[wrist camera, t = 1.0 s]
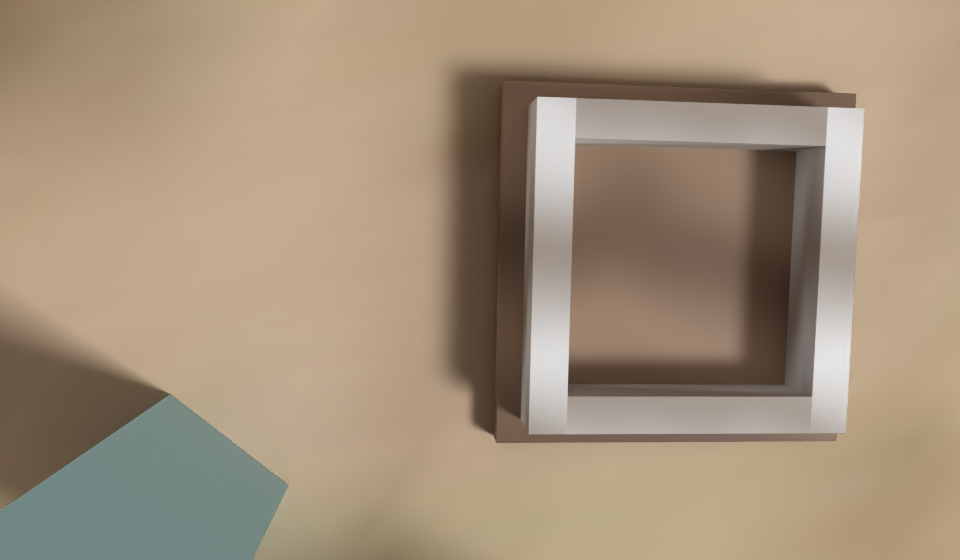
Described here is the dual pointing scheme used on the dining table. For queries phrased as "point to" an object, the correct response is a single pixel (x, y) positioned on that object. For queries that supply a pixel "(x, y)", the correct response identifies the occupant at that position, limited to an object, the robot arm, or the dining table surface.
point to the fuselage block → (148, 497)
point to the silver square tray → (674, 263)
